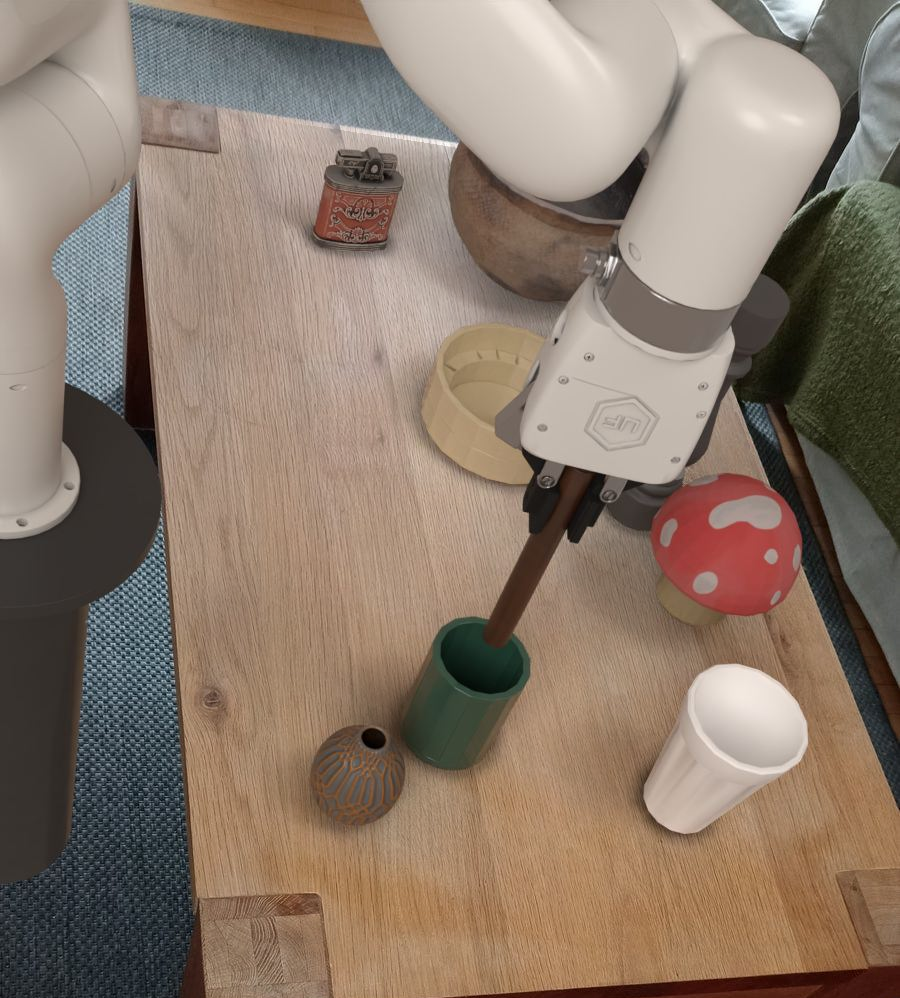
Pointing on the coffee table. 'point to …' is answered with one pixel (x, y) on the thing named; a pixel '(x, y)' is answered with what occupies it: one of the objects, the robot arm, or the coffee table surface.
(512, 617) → the stick
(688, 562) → the decorative mushroom
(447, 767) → the crock
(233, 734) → the coffee table surface
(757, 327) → the candle holder
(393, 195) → the lighter
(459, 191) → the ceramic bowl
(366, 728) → the vase
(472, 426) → the mixing bowl
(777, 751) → the cup
